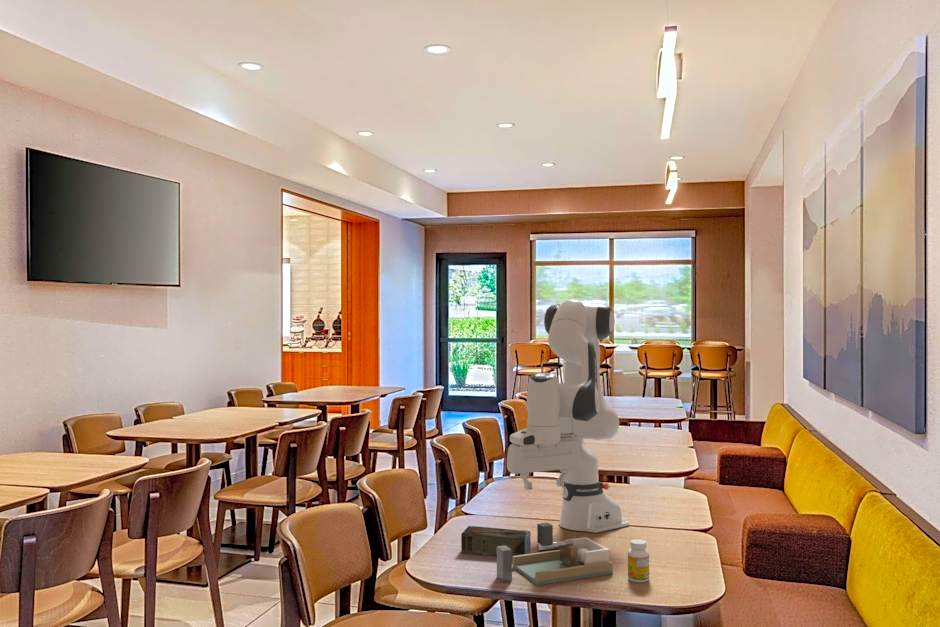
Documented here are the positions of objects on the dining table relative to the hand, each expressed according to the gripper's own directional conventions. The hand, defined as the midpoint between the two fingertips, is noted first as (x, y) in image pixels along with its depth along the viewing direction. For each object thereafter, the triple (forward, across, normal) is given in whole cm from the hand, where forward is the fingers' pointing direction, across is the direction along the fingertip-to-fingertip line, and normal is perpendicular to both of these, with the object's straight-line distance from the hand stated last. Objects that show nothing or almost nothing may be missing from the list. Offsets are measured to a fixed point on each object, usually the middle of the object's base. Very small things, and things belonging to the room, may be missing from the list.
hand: (544, 487), depth 204 cm
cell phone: (+23, -10, -15) cm, 30 cm away
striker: (+21, -3, 0) cm, 21 cm away
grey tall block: (+23, +12, 0) cm, 26 cm away
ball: (+20, -12, 0) cm, 23 cm away
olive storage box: (+23, +5, -21) cm, 32 cm away
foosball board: (+23, -5, 0) cm, 23 cm away
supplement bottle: (+23, -20, +14) cm, 33 cm away
